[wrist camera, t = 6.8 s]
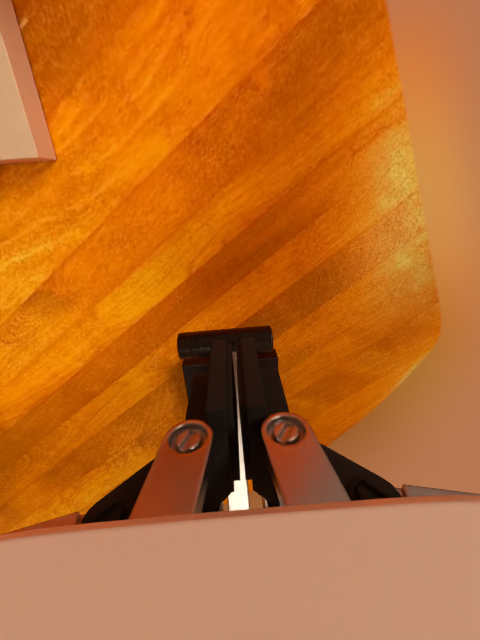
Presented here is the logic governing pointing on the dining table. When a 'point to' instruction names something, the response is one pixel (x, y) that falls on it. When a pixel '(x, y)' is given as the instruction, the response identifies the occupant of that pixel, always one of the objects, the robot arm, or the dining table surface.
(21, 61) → the control block
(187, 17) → the dining table surface
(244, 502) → the metal lever
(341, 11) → the dining table surface
